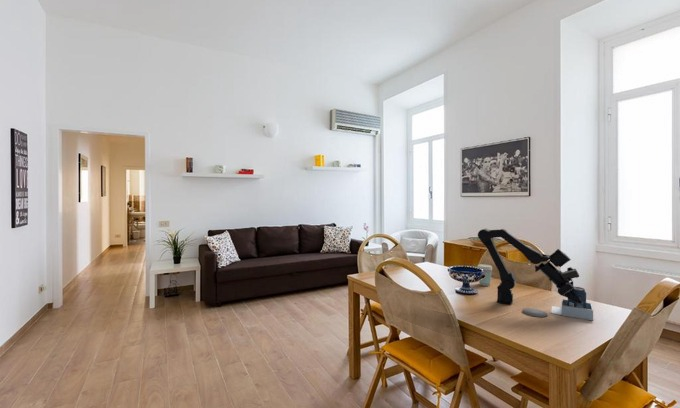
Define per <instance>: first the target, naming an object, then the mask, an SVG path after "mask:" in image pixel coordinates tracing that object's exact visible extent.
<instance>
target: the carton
mask: <svg viewBox="0 0 680 408" xmlns="http://www.w3.org/2000/svg"><path fill="white" fill-rule="evenodd" d="M551 314H552V315H558V316H565V317H571V318H575V319H582V320H587V321H588V320H589V321H594V308H593V305H592V303H591V302H586V309H583V308H577V307H570V306H568V299H566V298H565V299H564V298H563V299H562V298H561V307H559V306H555V305H552V306H551Z"/></svg>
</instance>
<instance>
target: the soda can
mask: <svg viewBox="0 0 680 408" xmlns="http://www.w3.org/2000/svg"><path fill="white" fill-rule="evenodd" d="M574 292H575V293H576V295H577V296H578V297H579V299H580V300H581V301H582V303H578V302H576V301H573V300H571V299H569V298H567V300H568V306H570V307H577V308H583V309H586V303H587V292H586V289H585V288H584V287H581V286H574Z"/></svg>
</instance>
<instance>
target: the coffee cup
mask: <svg viewBox="0 0 680 408" xmlns="http://www.w3.org/2000/svg"><path fill="white" fill-rule="evenodd" d="M477 267H479V268H481V269H483V271H484V272H485V277H484V278H483V279H482V280H480V281H479V280H478V282H479V286H482V285H483V287H490V286H491V281H492V279H491V278H492V272H493V271H492V270H493V266H492V265H491V264H485V263H484V264H483V263H481V264H480V263H479V264H478V265H477Z"/></svg>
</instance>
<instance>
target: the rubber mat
mask: <svg viewBox="0 0 680 408" xmlns="http://www.w3.org/2000/svg"><path fill="white" fill-rule="evenodd" d="M522 313H523V314H524V315H527V316H531V317H534V318H547V317H548V313H547V311H544V310H541V309H537V308H528V307H527V308H523V309H522Z"/></svg>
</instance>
